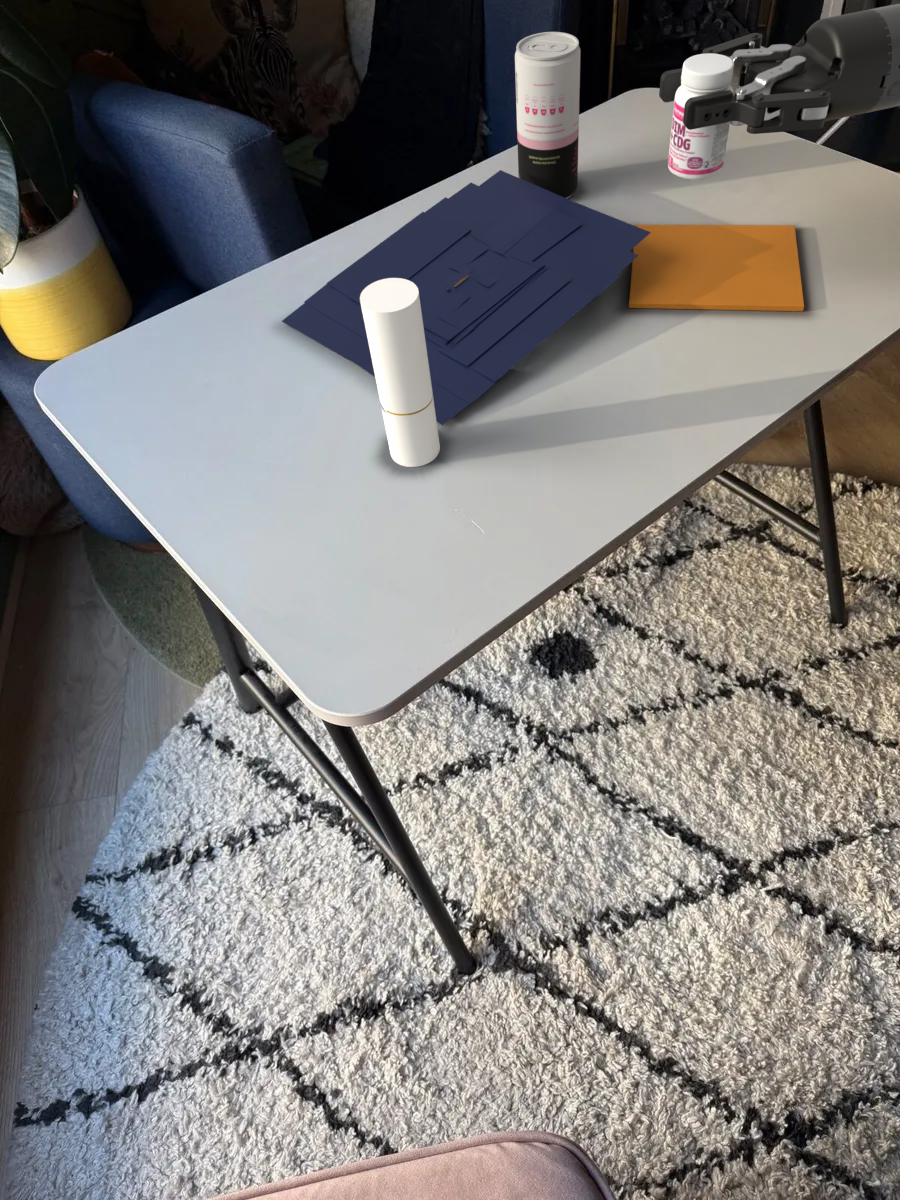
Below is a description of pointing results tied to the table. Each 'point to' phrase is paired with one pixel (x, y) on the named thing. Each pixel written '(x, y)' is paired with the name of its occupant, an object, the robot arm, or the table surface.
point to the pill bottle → (707, 145)
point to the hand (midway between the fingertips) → (674, 101)
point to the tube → (401, 369)
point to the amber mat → (717, 268)
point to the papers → (479, 282)
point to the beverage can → (548, 110)
